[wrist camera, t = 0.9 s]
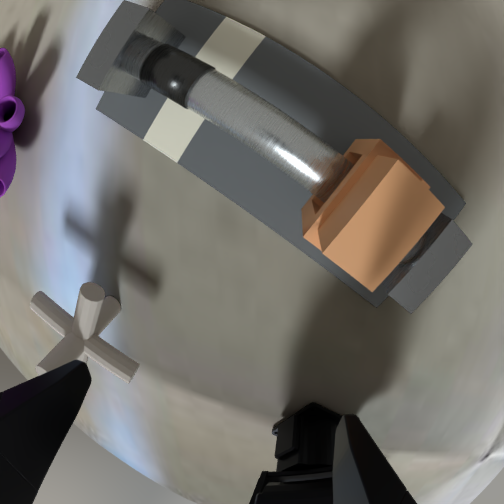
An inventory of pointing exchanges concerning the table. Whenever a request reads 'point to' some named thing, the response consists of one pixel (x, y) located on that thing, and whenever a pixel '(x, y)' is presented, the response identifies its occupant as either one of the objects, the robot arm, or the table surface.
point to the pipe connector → (83, 332)
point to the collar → (371, 213)
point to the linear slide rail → (251, 130)
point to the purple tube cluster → (8, 119)
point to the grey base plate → (283, 97)
